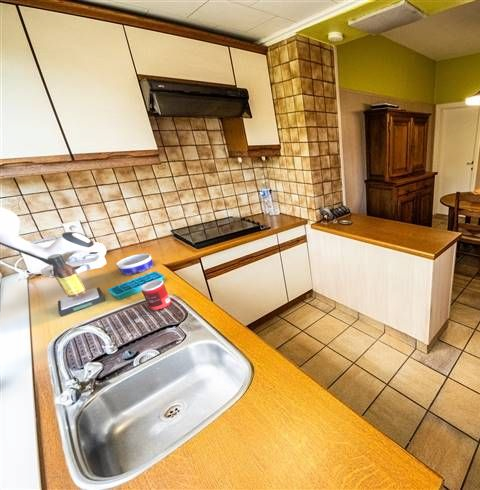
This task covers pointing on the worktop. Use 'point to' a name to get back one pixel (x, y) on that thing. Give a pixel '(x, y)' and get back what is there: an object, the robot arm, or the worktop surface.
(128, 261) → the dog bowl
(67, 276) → the sauce bottle
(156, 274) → the ice cube tray
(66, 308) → the scale
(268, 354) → the worktop surface
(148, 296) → the canned food
